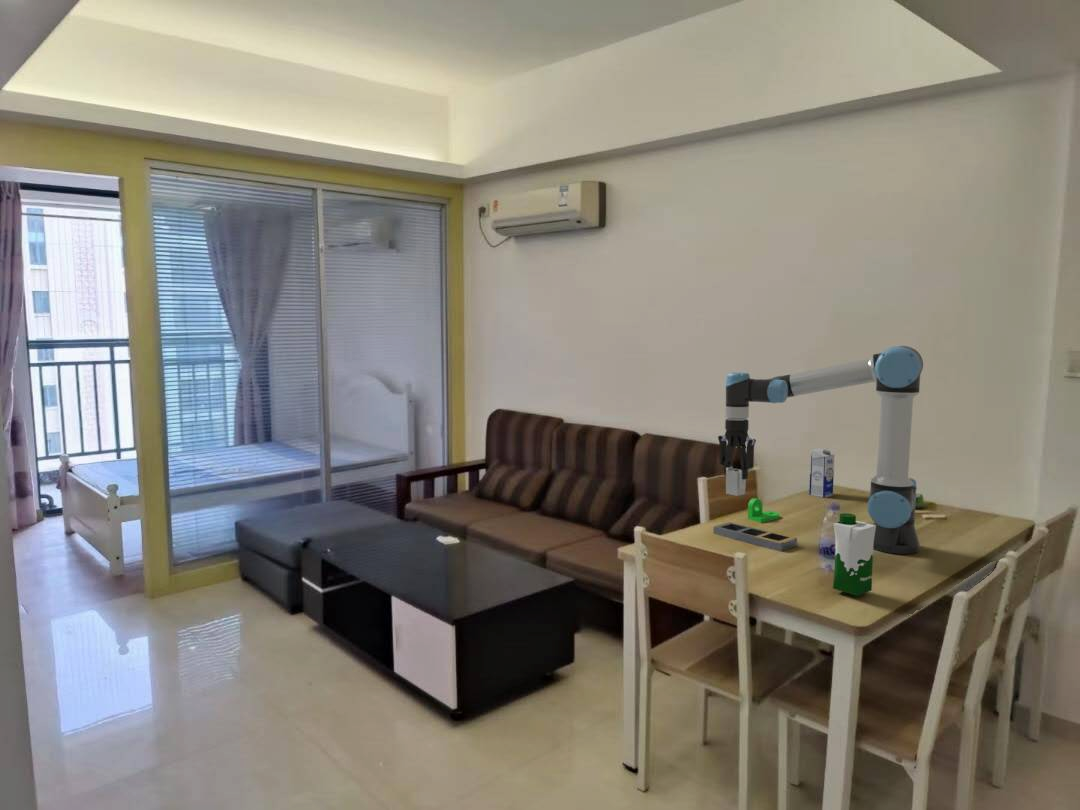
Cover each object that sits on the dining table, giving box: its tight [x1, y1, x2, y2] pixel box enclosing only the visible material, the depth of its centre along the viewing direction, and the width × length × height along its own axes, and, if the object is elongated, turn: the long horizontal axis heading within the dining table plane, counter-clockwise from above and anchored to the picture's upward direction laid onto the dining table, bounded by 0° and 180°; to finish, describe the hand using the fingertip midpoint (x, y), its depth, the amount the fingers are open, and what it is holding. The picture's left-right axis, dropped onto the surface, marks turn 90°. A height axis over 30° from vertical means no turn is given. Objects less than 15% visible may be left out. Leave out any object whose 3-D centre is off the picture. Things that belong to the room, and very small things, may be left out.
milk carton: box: [808, 447, 835, 499], centre depth 301 cm, size 7×7×20 cm
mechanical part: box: [747, 497, 780, 524], centre depth 268 cm, size 12×6×8 cm, turn 123°
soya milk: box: [832, 513, 876, 597], centre depth 195 cm, size 9×9×20 cm
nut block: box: [725, 468, 746, 497], centre depth 247 cm, size 4×4×8 cm
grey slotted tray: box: [712, 521, 798, 552], centre depth 243 cm, size 26×9×3 cm, turn 40°
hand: (735, 487), depth 247 cm, fingers closed on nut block, 4 cm apart
